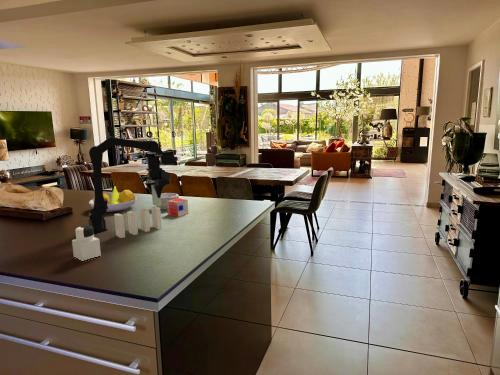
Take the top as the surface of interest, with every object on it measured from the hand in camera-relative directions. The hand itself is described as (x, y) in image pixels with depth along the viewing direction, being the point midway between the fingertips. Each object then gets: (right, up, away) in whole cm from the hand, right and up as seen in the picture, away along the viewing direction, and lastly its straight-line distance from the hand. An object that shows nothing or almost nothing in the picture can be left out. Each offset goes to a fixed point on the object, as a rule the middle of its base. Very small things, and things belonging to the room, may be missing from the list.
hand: (156, 197), depth 170 cm
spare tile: (0, -4, +1) cm, 4 cm away
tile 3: (-3, -15, -9) cm, 18 cm away
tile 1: (-11, -17, -18) cm, 27 cm away
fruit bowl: (-34, -8, +34) cm, 49 cm away
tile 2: (-7, -16, -13) cm, 22 cm away
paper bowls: (-3, -8, +34) cm, 35 cm away
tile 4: (+2, -15, -5) cm, 16 cm away
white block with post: (-15, -22, -41) cm, 49 cm away
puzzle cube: (+7, -10, +19) cm, 22 cm away
